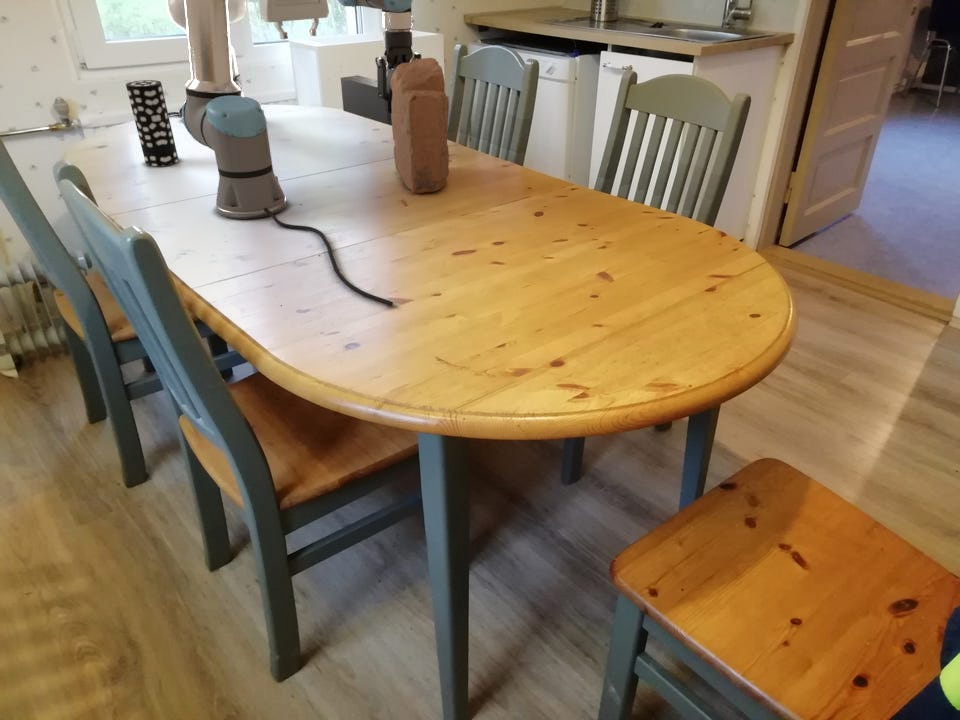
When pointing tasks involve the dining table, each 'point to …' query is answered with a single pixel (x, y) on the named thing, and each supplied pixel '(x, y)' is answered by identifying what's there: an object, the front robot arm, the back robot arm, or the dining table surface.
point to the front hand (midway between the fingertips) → (401, 122)
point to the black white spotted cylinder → (152, 122)
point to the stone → (420, 124)
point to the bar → (363, 98)
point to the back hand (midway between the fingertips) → (298, 37)
